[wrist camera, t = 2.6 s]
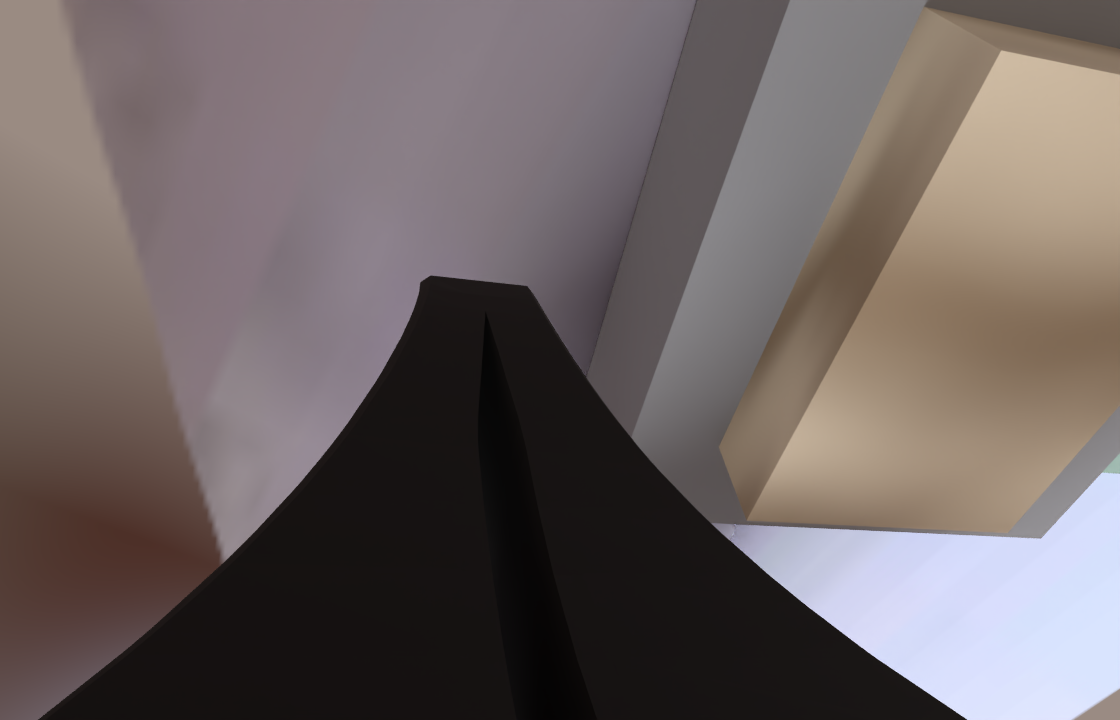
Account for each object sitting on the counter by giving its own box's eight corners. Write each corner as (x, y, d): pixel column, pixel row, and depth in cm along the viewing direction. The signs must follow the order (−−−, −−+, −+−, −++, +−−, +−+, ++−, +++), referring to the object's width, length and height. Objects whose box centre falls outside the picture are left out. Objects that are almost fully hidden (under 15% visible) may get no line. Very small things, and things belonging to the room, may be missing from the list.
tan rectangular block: (959, 463, 18) (1007, 533, 16) (718, 446, 16) (746, 520, 15) (1249, 76, 12) (1365, 125, 11) (923, 7, 11) (1000, 50, 9)
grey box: (961, 431, 23) (1040, 538, 20) (579, 401, 20) (602, 518, 17) (1341, -89, 15) (1579, -44, 11) (770, -252, 12) (880, -249, 9)
